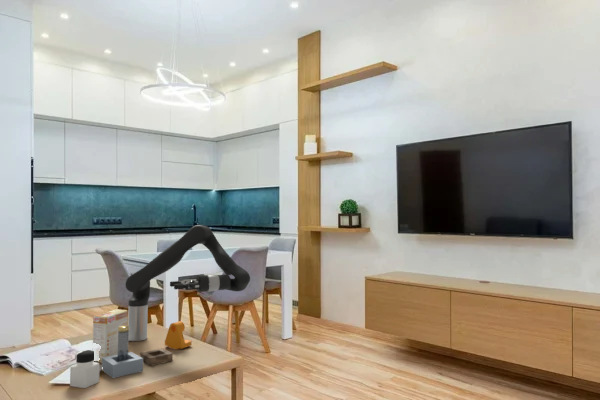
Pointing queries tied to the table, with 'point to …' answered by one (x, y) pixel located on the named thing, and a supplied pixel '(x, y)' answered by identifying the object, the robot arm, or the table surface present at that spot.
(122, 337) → the silver metal cylinder
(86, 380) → the medicine bottle
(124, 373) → the block
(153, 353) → the socket block
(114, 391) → the table surface
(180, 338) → the bracket
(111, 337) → the coffeecake box
